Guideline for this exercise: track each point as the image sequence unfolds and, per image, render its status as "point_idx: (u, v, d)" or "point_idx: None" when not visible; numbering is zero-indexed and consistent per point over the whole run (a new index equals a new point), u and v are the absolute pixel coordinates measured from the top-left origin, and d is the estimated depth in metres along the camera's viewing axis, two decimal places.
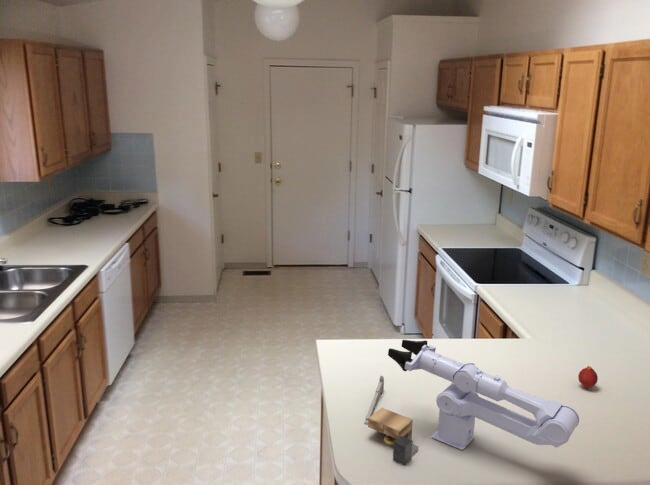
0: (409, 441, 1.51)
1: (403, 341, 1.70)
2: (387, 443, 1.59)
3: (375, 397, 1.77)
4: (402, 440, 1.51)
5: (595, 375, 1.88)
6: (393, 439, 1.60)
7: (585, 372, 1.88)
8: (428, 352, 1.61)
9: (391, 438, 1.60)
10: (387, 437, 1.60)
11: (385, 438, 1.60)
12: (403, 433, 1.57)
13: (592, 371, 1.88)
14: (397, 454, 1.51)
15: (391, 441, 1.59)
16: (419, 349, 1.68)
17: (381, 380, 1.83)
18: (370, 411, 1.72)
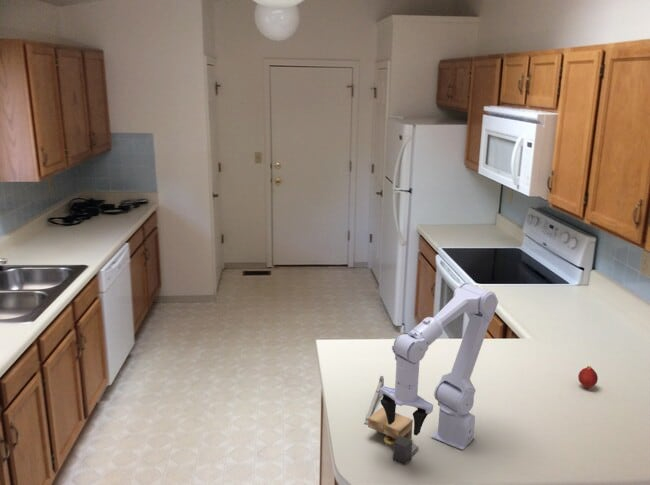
0: (409, 441, 1.51)
1: (390, 423, 1.51)
2: (387, 443, 1.59)
3: (375, 397, 1.77)
4: (402, 440, 1.51)
5: (595, 375, 1.88)
6: (393, 439, 1.60)
7: (585, 372, 1.88)
8: (402, 396, 1.45)
9: (391, 438, 1.60)
10: (387, 437, 1.60)
11: (385, 438, 1.60)
12: (403, 433, 1.57)
13: (592, 371, 1.88)
14: (397, 454, 1.51)
15: (391, 441, 1.59)
16: (392, 403, 1.51)
17: (381, 380, 1.83)
18: (370, 411, 1.72)
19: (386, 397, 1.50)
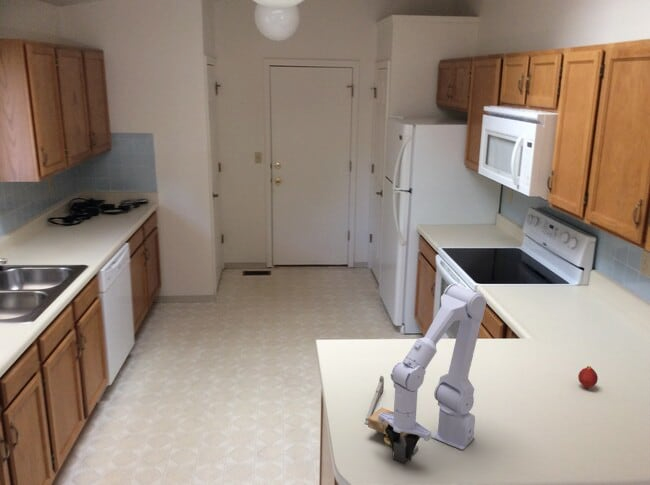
0: None
1: None
2: (387, 443, 1.59)
3: (375, 397, 1.77)
4: (402, 440, 1.51)
5: (595, 375, 1.88)
6: None
7: (585, 372, 1.88)
8: (400, 423, 1.47)
9: None
10: (387, 437, 1.60)
11: (385, 438, 1.60)
12: (403, 433, 1.57)
13: (592, 371, 1.88)
14: (397, 454, 1.51)
15: None
16: (396, 432, 1.52)
17: (381, 380, 1.83)
18: (370, 411, 1.72)
19: (390, 426, 1.51)
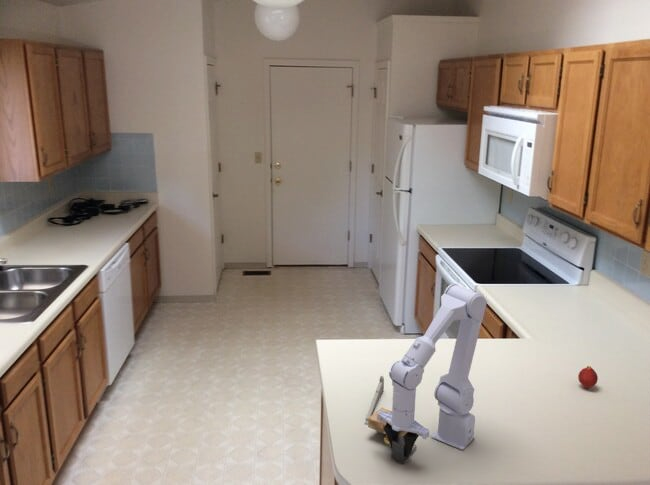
0: None
1: None
2: (387, 443, 1.59)
3: (375, 397, 1.77)
4: (400, 439, 1.52)
5: (595, 375, 1.88)
6: None
7: (585, 372, 1.88)
8: (399, 422, 1.47)
9: None
10: (387, 437, 1.60)
11: (385, 438, 1.60)
12: (403, 433, 1.57)
13: (592, 371, 1.88)
14: (395, 453, 1.51)
15: None
16: (395, 430, 1.52)
17: (381, 380, 1.83)
18: (370, 411, 1.72)
19: (389, 424, 1.52)
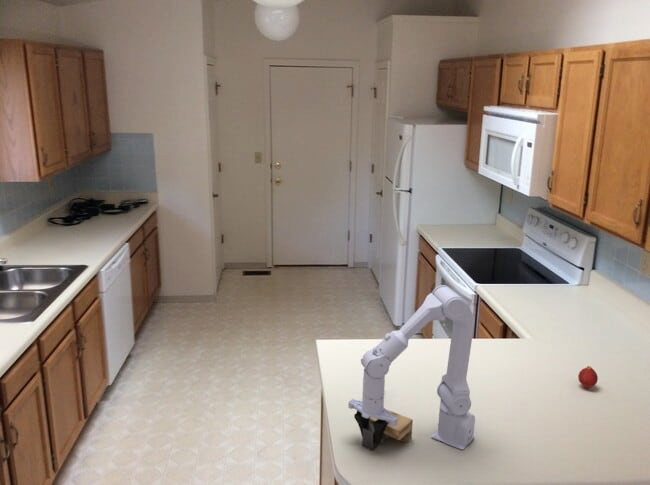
0: None
1: None
2: None
3: None
4: (370, 426, 1.57)
5: (595, 375, 1.88)
6: None
7: (585, 372, 1.88)
8: (368, 409, 1.52)
9: None
10: None
11: None
12: (403, 433, 1.57)
13: (592, 371, 1.88)
14: (366, 439, 1.56)
15: None
16: (365, 418, 1.57)
17: None
18: None
19: (360, 412, 1.57)
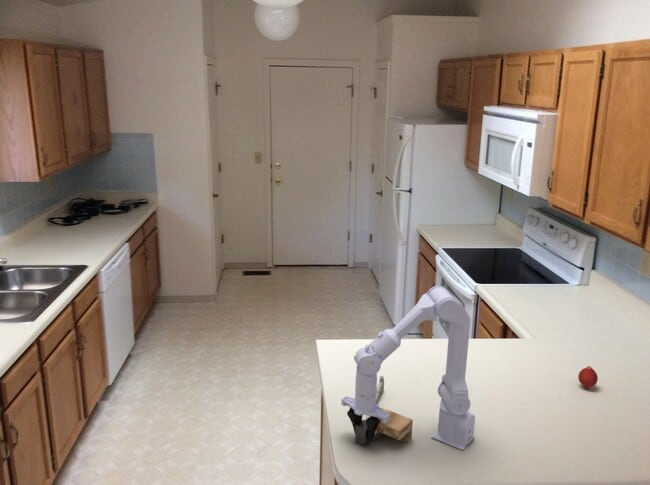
0: None
1: None
2: None
3: None
4: (363, 423, 1.58)
5: (595, 375, 1.88)
6: None
7: (585, 372, 1.88)
8: (361, 406, 1.54)
9: None
10: None
11: None
12: (403, 433, 1.57)
13: (592, 371, 1.88)
14: (359, 436, 1.58)
15: None
16: (358, 415, 1.59)
17: (381, 380, 1.83)
18: None
19: (352, 409, 1.58)
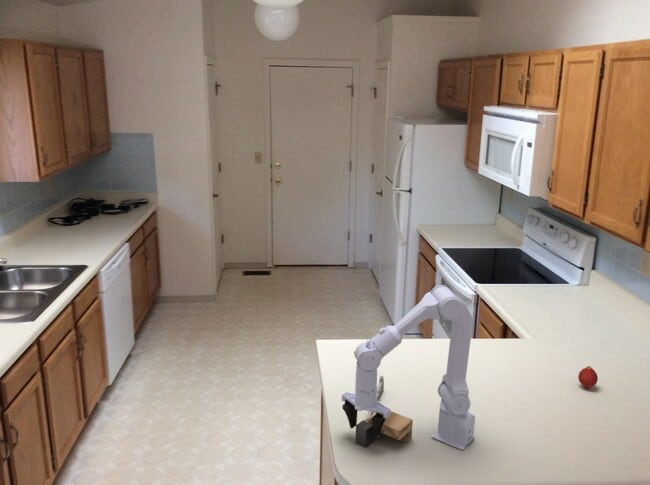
0: (370, 425, 1.58)
1: (352, 426, 1.60)
2: None
3: None
4: (363, 424, 1.58)
5: (595, 375, 1.88)
6: None
7: (585, 372, 1.88)
8: (361, 402, 1.54)
9: None
10: None
11: None
12: (403, 433, 1.57)
13: (592, 371, 1.88)
14: (359, 437, 1.58)
15: None
16: (353, 408, 1.59)
17: (381, 380, 1.83)
18: (370, 411, 1.72)
19: (348, 402, 1.59)
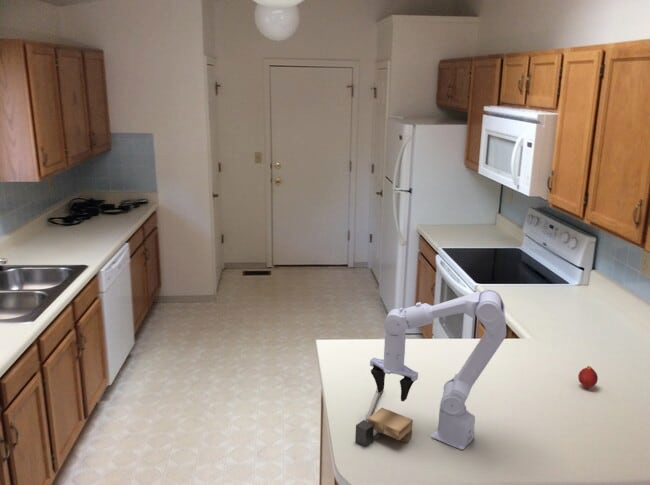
0: (370, 425, 1.58)
1: (380, 391, 1.66)
2: None
3: (375, 397, 1.77)
4: (364, 424, 1.58)
5: (595, 375, 1.88)
6: None
7: (585, 372, 1.88)
8: (390, 365, 1.60)
9: None
10: None
11: None
12: (403, 433, 1.57)
13: (592, 371, 1.88)
14: (359, 437, 1.58)
15: None
16: (381, 373, 1.65)
17: None
18: (370, 411, 1.71)
19: (376, 367, 1.65)
